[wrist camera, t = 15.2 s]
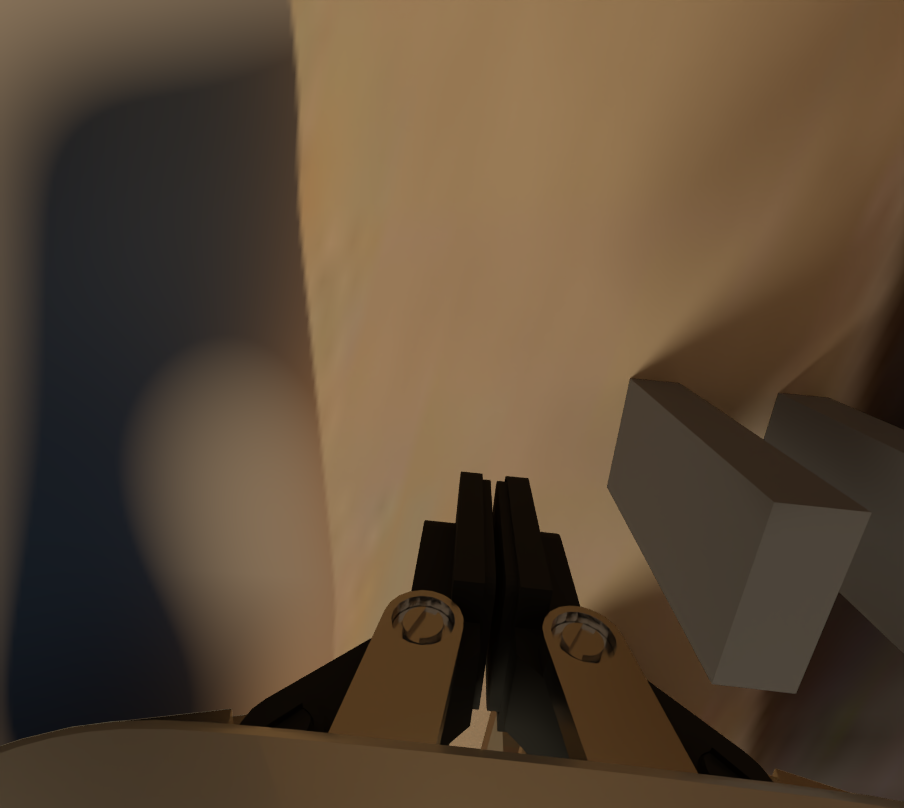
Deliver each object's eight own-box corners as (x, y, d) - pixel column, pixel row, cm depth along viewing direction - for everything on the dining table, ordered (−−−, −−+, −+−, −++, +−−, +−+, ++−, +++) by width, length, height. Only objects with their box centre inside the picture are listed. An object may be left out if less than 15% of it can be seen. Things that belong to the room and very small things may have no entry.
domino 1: (652, 491, 21) (795, 693, 11) (607, 486, 21) (711, 684, 11) (679, 383, 19) (872, 512, 10) (630, 378, 19) (774, 502, 10)
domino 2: (790, 506, 21) (1053, 723, 11) (743, 501, 21) (966, 713, 11) (828, 397, 19) (1172, 544, 10) (778, 392, 19) (1070, 533, 10)
